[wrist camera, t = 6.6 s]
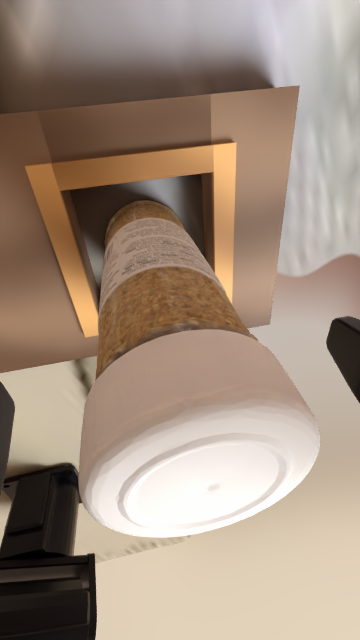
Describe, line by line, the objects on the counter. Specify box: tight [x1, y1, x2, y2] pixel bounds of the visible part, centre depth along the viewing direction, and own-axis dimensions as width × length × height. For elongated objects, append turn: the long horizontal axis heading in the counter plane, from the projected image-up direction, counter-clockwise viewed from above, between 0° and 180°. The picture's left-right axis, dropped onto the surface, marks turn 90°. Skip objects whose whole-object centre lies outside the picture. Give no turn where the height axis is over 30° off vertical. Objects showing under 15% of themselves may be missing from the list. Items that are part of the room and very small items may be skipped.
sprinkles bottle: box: [78, 200, 320, 537], centre depth 11 cm, size 5×5×14 cm
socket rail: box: [0, 86, 299, 373], centre depth 14 cm, size 12×26×2 cm, turn 95°
